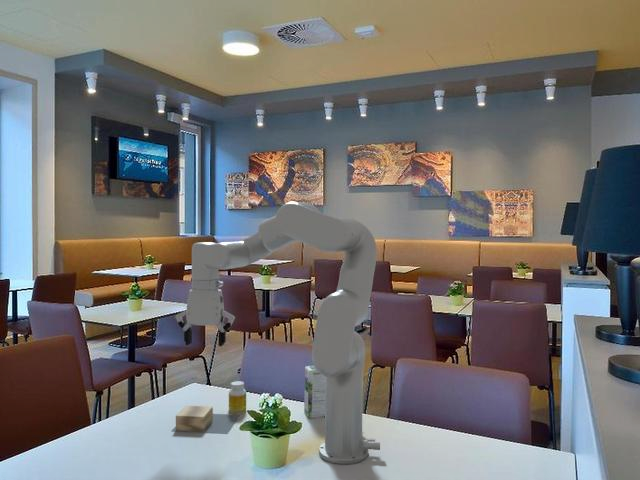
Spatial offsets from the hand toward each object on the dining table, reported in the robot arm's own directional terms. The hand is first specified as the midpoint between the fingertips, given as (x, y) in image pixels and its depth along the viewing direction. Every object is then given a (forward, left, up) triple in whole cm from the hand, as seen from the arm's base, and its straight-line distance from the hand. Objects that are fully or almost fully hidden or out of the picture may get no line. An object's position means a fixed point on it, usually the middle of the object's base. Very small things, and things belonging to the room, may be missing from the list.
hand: (204, 344), depth 145 cm
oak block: (+2, +2, -23) cm, 23 cm away
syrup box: (-31, -13, -24) cm, 41 cm away
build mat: (-1, 0, -24) cm, 24 cm away
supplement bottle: (-7, -11, -24) cm, 27 cm away
